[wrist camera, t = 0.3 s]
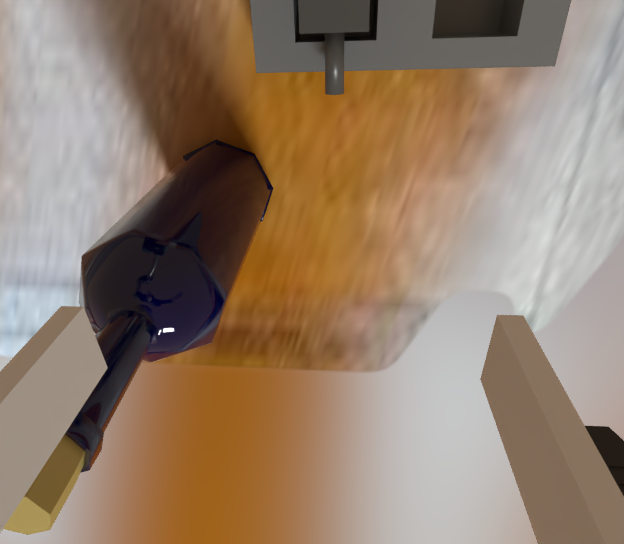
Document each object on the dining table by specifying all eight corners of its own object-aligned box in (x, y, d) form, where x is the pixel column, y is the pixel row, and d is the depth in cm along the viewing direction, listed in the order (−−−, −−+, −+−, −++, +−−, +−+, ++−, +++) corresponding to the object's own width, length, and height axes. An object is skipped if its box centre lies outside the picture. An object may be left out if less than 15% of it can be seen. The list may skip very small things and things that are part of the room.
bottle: (165, 141, 38) (-203, 420, 13) (267, 138, 37) (96, 428, 12) (186, 234, 43) (-47, 569, 17) (277, 232, 42) (171, 582, 17)
